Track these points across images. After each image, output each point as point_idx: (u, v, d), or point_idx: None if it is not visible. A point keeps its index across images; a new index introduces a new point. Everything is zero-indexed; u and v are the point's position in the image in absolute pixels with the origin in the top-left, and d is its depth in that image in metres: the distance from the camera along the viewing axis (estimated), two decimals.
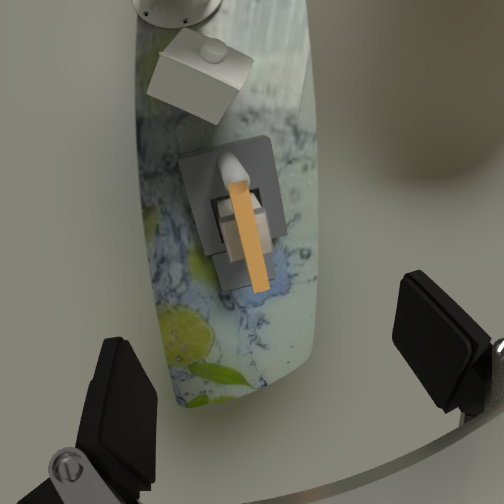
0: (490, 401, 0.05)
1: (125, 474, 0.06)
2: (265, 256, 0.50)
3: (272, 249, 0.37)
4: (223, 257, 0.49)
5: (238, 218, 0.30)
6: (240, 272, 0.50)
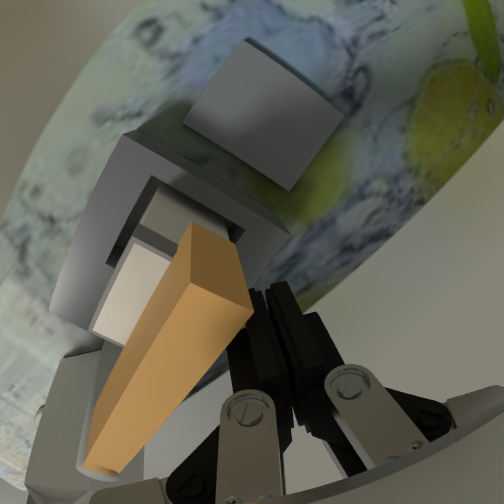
0: (362, 449, 0.05)
1: None
2: (214, 98, 0.19)
3: (131, 246, 0.11)
4: (275, 170, 0.21)
5: (129, 453, 0.10)
6: (282, 115, 0.20)
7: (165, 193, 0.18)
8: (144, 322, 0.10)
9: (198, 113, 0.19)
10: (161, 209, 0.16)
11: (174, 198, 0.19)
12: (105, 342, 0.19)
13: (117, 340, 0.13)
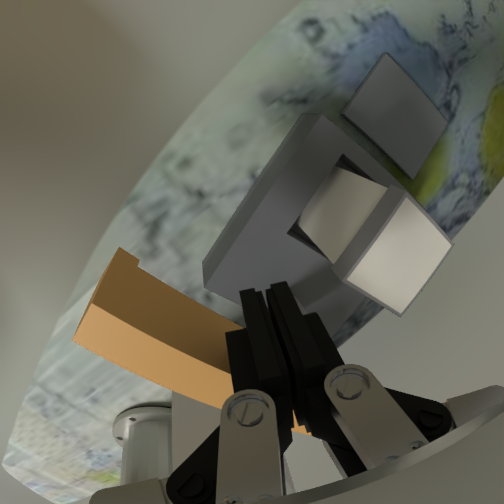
0: (362, 449, 0.05)
1: None
2: (368, 97, 0.21)
3: (403, 199, 0.14)
4: (406, 161, 0.24)
5: None
6: (412, 118, 0.22)
7: None
8: None
9: (356, 108, 0.21)
10: None
11: None
12: None
13: (364, 288, 0.15)
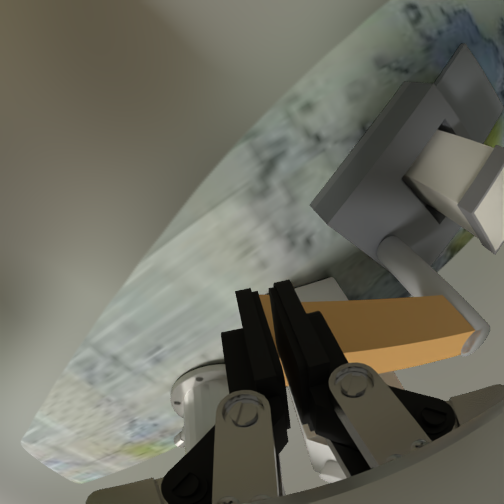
0: (365, 446, 0.05)
1: None
2: (452, 77, 0.21)
3: None
4: (474, 135, 0.24)
5: (442, 341, 0.13)
6: (480, 100, 0.22)
7: None
8: None
9: (444, 84, 0.21)
10: None
11: None
12: None
13: (481, 222, 0.16)
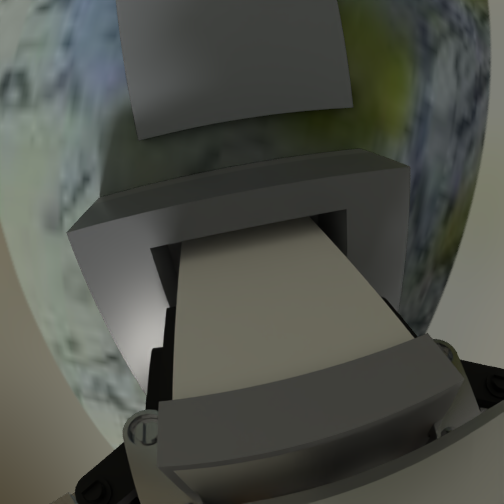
0: None
1: None
2: (148, 75, 0.10)
3: (173, 475, 0.04)
4: (313, 93, 0.11)
5: None
6: (256, 19, 0.10)
7: (195, 249, 0.11)
8: None
9: (148, 110, 0.11)
10: (198, 297, 0.08)
11: (212, 245, 0.11)
12: None
13: None
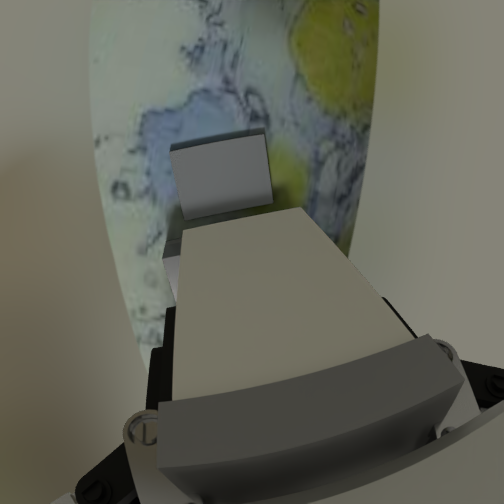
0: None
1: None
2: (187, 195, 0.30)
3: (173, 476, 0.04)
4: (255, 199, 0.31)
5: None
6: (230, 169, 0.29)
7: (194, 249, 0.11)
8: None
9: (188, 209, 0.30)
10: (198, 297, 0.08)
11: (212, 245, 0.11)
12: None
13: None
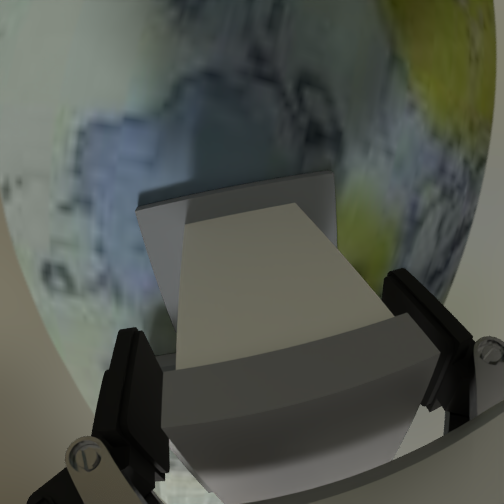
0: (476, 402, 0.05)
1: (141, 463, 0.06)
2: None
3: (176, 437, 0.05)
4: None
5: None
6: None
7: (196, 241, 0.12)
8: None
9: None
10: (199, 283, 0.09)
11: (212, 238, 0.12)
12: None
13: (272, 495, 0.07)
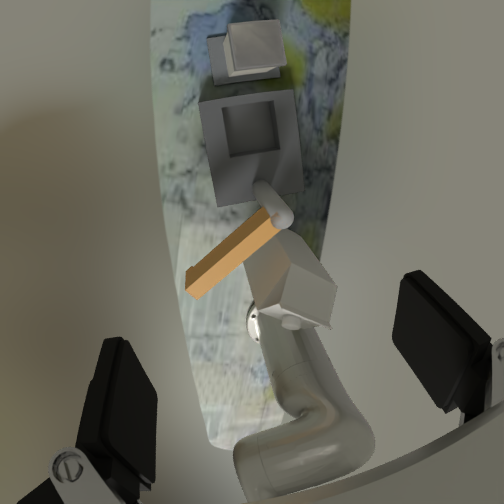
0: (490, 401, 0.05)
1: (125, 474, 0.06)
2: (218, 67, 0.36)
3: (229, 27, 0.26)
4: (267, 73, 0.37)
5: (250, 237, 0.31)
6: None
7: None
8: None
9: (217, 77, 0.36)
10: None
11: None
12: None
13: (249, 65, 0.28)
